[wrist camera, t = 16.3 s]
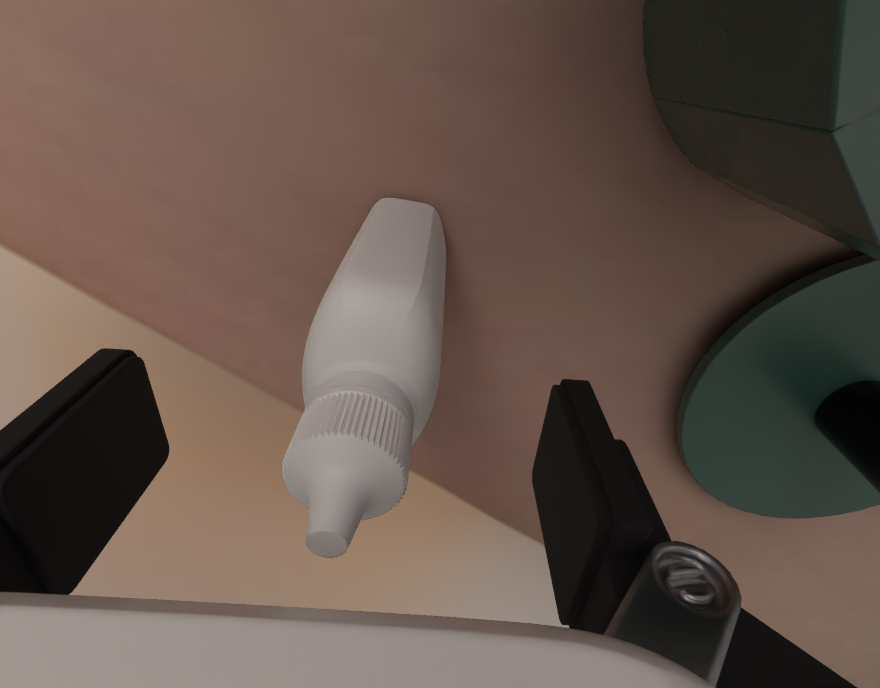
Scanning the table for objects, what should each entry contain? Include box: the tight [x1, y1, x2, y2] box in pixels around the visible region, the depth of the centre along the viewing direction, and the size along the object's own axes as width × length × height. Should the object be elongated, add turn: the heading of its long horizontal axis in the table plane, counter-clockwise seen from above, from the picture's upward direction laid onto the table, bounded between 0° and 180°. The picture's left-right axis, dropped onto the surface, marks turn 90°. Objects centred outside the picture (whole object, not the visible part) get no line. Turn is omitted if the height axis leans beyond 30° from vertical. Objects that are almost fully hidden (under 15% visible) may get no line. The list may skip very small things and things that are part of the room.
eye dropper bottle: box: [282, 197, 446, 558], centre depth 13 cm, size 4×6×12 cm
